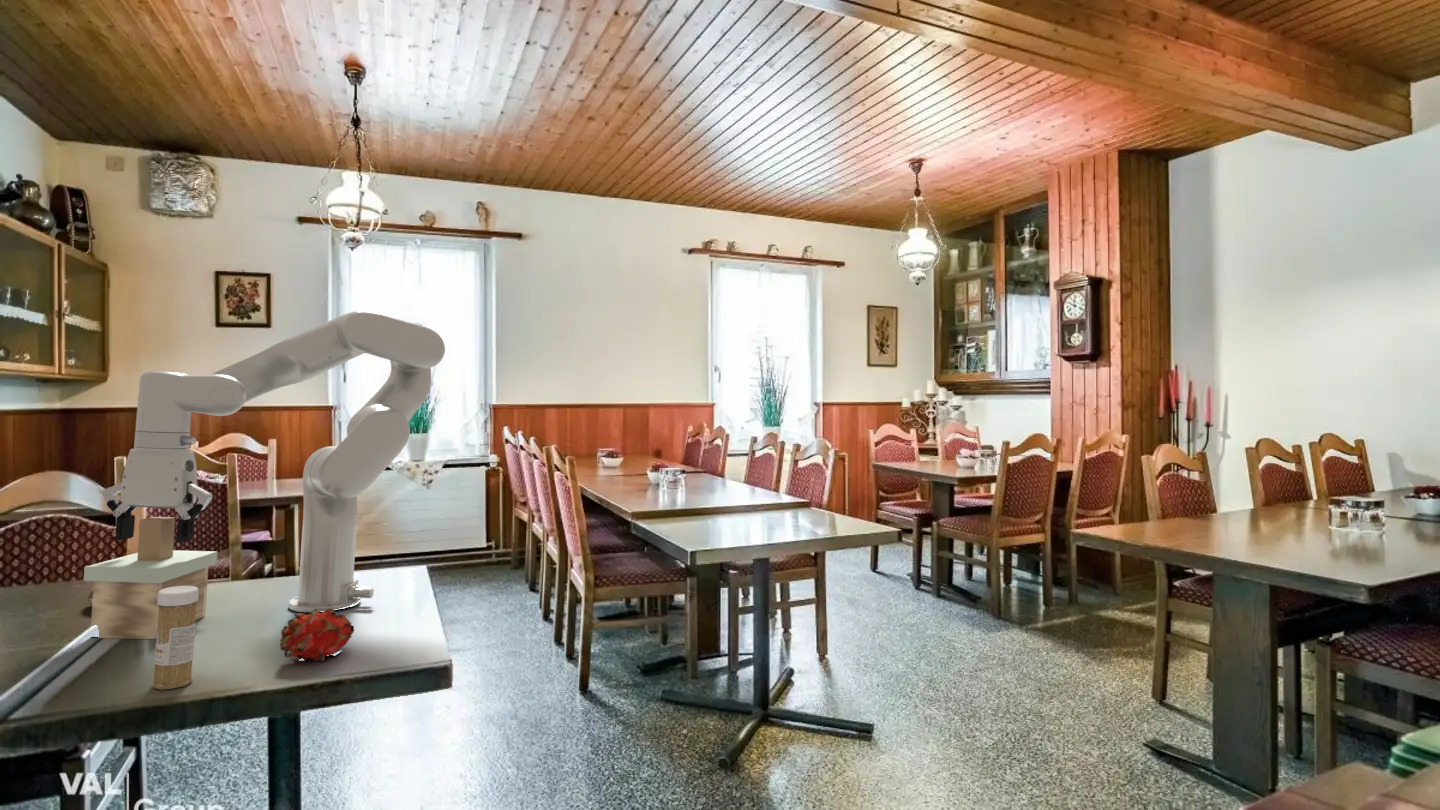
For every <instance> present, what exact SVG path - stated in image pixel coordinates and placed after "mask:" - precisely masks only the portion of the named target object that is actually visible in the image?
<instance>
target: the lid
mask: <svg viewBox="0 0 1440 810" xmlns="http://www.w3.org/2000/svg"><path fill="white" fill-rule="evenodd" d="M175 526H176V517H173V516H172V517H171V516H151V517H147V518H142V519H139V528H138V529H139V530H138V543H137V552H135V553H132V554H127V555H125V556H120V557H116V558H113V559H109V560H105V561H102V562H97V563H94V564H91V565H87V566H84V570H83V571H84V573H83V582H94V581H104V582H143V583H162V582H165V581H168V580H171V579H174V578H177V577H180V576H183V575H186V574H189V573H191V572H194V571H197V570H200V569H203V568H206V567H208V568H209V567H212V566H214V565H217V563H218V551H212V550H210V551H209V550H207V551H206V550H176V549H174V543H175V541H174V540H175V528H176V527H175Z"/></svg>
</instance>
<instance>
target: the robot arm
mask: <svg viewBox="0 0 1440 810" xmlns="http://www.w3.org/2000/svg"><path fill="white" fill-rule="evenodd" d="M445 346H446V345H445V342H444V340H443V338H442V336H441V335H440V334H439V333H437V331H435V330H433V329H432V328H429V327H426V326H424V325H423V326H422V325H419V324H416V323H413V322H410V321H406V320H402V319H399V318H396V317H392V316H389V315H386V314H382V313H379V312H376V311H373V310H366V309H360V310H359V309H358V310H355V311H351V312H347V313H345V314H342V315H339V316H337V317H334V318H332V319H331V320H328V321H326V322H323V323H321V324H319V325H316V326H314V327H311V328H310V329H307V330H305V331H303V332H300V333H298V334H295V335H294V336H291V337H289V338H286V339H283V340H282V341H279V342H277V343H275V344H273V345H271V346H270V347H268V348H266V349H264V350H262V351H260V352H259V353H257V354H254V355H251V356H249V357H247V358H245V359H243V360H240V361H238V362H235V363H233V364H231V365H228V366H226V367H224V368H222V369H218V370H217V371H214V372H211V373H210V374H196V375H195V374H194V375H193V374H187V373H183V372H175V371H174V372H172V371H159V370H158V371H157V370H153V371H152V370H151V371H149V370H148V371H146V372H143V373H142V374H141V375H140V377H139V383H138V395H137V409H136V421H135V432H134V433H135V434H134V444H133V445H134V446H133V448H131V449H129V452H128V455H127V458H126V461H125V466H124V468H123V469H124V470H123V473H122V478H121V482H119V483H117V484H114V485H112V486H110V487H107V488H105V489H103V490H102V495H103V497H104V500H105V501H106V506H107V508H109V509H110V511H111V512H112V514H113V517H116V525H115V535H116V537H115V539H116V541H123V540H129V539H132V538H134V531H135V519H136V516H135V514H132V513H133V512H134V511H135V510H137V508H153V509H154V508H156V509H175V511H176V512H177V514H178V515H179V516H180V517H181V519H178V520H177V525H176V526H177V527H176V537H175V539H176V540H175V542H176V543H179V544H181V543H185V542H188V541H189V542H190V541H192V539H193V536H194V533H195V522H196V519H197V518H198V517H199V516H200V514H202V513H203V512H204V511H206V509H207V506H208V505H209V504H210V502H211V500H212V499H213V496H214V495H213V494H212V493H211V492H209V491H207V490H205V489H203V488H201V487H200V486H198V471H197V462H196V457H195V451H194V450H189V448H190V446H192V445H193V446H194V445H195V444H196V443H197V439H196V437H194V436H191V419H192V413H197V414H204V415H210V416H217V417H223V416H224V417H225V416H230V415H233V414H235V413H237V412H238V411H240V410H241V409H242V408H243V406H244V405H245V404H246V403H247V402H249V401H252V400H253V399H256V398H258V397H261V396H262V395H265V394H267V393H270V392H272V391H274V390H278V389H279V388H283V387H288V386H291V385H297V384H299V383H302V382H305V381H307V380H311V379H312V378H314V377H315V378H316V377H317V376H319V375H321V374H323V373H325V372H327V371H329V370H332V369H334V368H335V367H338V366H339V365H342V364H344V363H346V362H348V361H350V360H352V359H354V358H356V357H359V356H362V355H364V354H368V355H371V356H375V357H379V358H381V359H385V360H389V361H390V373H389V377H388V378H387V380H386V381H385V382H384V384H383V385H382V386H381V388H380V389H378V391H377V392H376V393H375V394H374V395H373V396H372V397H371V398H370V399H369V400H368V401H367V402H366V403H365V404H364V405H363V406H362V407H361V408H360V409H359V410H358V411H357V412H355V414H353V415H352V417H351V418H350V419H349V421H348V423H347V427H346V435H347V436H346V437H345V438H344V439H343V440H342V441H341V443H339V444H338V445H337V446H336V445H331V446H324V447H322V448H321V447H320V448H319V449H317V450H315V451H314V452H313V453H312V454H311V455H310V456H309V457H308V458H307V460H306V462H305V464H304V467H303V473H302V489H303V492H302V493H303V514H302V516H303V517H302V531H301V543H300V544H301V545H300V561H299V562H300V563H299V580H298V581H299V582H298V593H297V594H298V596H295V597H293V598H291V599H290V600H289V601H288V609H290V610H291V611H294V612H298V613H306V612H312V611H313V610H314V609H317V611H318V612H320V611H326V610H327V609H329V608H331V609H333V610H334V609H339V608H343V607H347V606H350V605H352V604H355V603H357V602H358V601H359V600H360V599H361V600H362V599H372V598H373V597H374V591H375V590H374V588H373V587H372V586H361V585H360V584H359V579H354V576H355V575H354V574H355V561H356V560H355V558H356V557H355V556H356V542H357V541H356V540H357V526H358V496H359V495H361V494H362V493H364V492H365V491H366V490H368V489H369V488H370V486H372V485H373V483H374V482H375V481H376V480H377V478H378V477H380V476H381V474H382V473H384V471H385V470H386V469H387V468H388V467H389V466H390V464H392V462H393V461H394V460H395V459H396V457H398V455H400V453H401V452H402V450H404V448H405V446H406V444H407V443H408V441H409V438H410V434H411V427H410V423H409V421H410V420H411V418H413V416H415V414H416V413H417V412H418V410H419V409H420V408H421V406H422V405H423V404H424V403H425V401H426V399H427V398H428V396H429V393H430V390H431V384H432V369H431V368H433V367H435V366H437V365H438V364H439V363H440V362H441V361H442V360H443V358H444V355H445V353H446V352H445V351H446V347H445ZM119 493H120V499H119V497H118V494H119ZM197 498H198V499H197ZM195 503H196V504H195Z"/></svg>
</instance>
